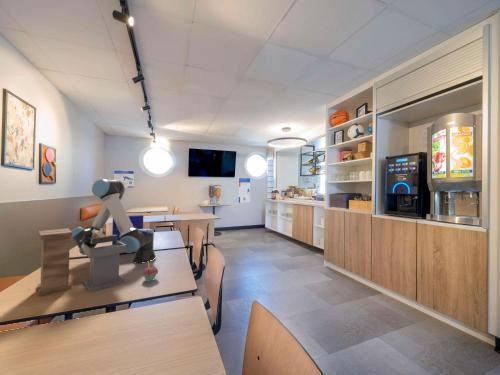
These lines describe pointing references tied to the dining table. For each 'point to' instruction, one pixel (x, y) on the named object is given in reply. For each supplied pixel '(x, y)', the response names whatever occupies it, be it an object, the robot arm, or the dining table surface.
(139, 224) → the cereal box
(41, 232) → the pin stand
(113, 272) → the tray stand
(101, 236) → the pin
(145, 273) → the cupcake
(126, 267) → the dining table surface
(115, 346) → the dining table surface
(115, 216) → the robot arm
